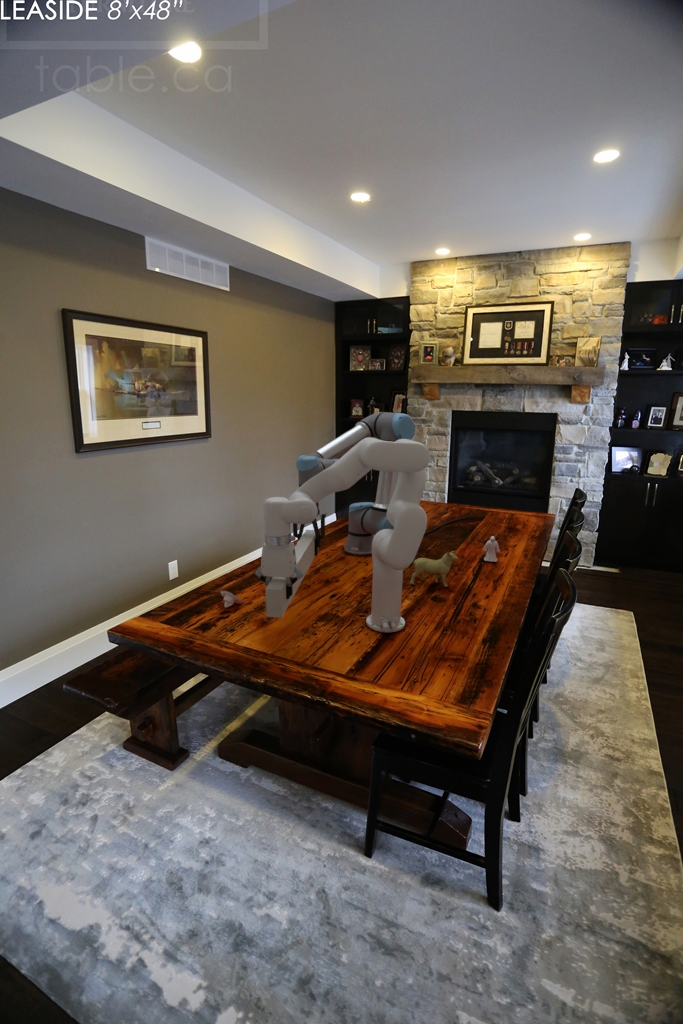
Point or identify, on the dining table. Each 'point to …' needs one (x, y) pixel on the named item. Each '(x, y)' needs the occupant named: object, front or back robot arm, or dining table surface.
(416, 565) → the toy
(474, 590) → the dining table surface
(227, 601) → the seashell
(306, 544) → the beam
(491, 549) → the figurine
